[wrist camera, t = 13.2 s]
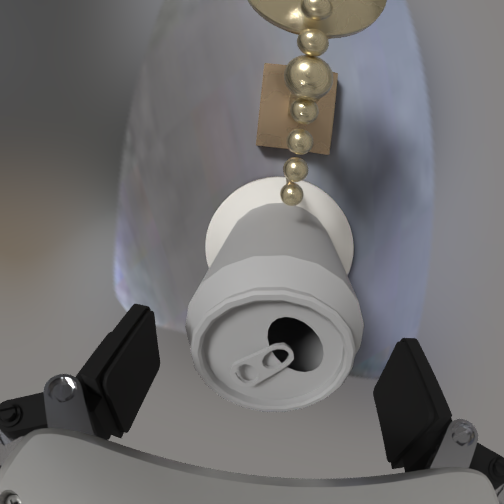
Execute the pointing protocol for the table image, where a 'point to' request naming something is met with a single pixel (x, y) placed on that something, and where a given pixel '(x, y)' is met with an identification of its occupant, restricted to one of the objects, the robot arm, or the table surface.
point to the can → (275, 313)
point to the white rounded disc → (269, 192)
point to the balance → (305, 79)
